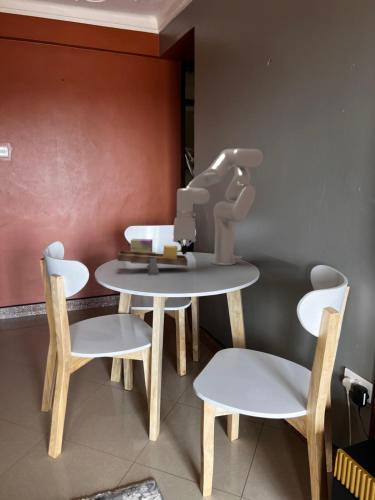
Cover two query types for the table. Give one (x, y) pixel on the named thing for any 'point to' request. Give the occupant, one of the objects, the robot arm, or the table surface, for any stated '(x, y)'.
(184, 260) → the beam
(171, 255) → the block
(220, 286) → the table surface
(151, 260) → the stand
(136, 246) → the box
